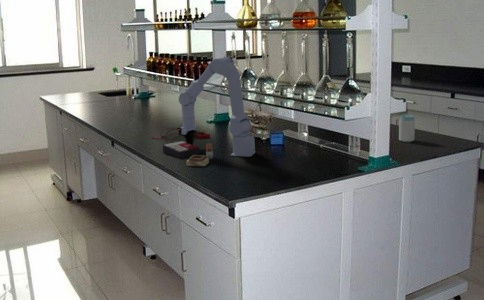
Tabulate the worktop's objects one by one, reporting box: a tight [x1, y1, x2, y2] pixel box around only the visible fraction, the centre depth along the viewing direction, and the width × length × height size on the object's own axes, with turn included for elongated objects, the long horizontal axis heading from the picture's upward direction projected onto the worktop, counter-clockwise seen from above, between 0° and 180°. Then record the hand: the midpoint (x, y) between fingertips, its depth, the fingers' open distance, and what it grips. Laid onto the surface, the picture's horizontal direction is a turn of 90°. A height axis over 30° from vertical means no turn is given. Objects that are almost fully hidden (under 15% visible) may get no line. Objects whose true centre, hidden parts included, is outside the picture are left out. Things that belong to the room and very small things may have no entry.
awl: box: [205, 143, 214, 161], centre depth 246 cm, size 3×3×6 cm
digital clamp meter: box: [151, 126, 211, 143], centre depth 290 cm, size 23×4×25 cm
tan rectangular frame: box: [185, 154, 210, 167], centre depth 238 cm, size 8×6×3 cm
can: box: [398, 114, 416, 143], centre depth 264 cm, size 7×7×12 cm
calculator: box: [162, 140, 201, 159], centre depth 258 cm, size 11×4×15 cm
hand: (190, 146), depth 265 cm, fingers closed
